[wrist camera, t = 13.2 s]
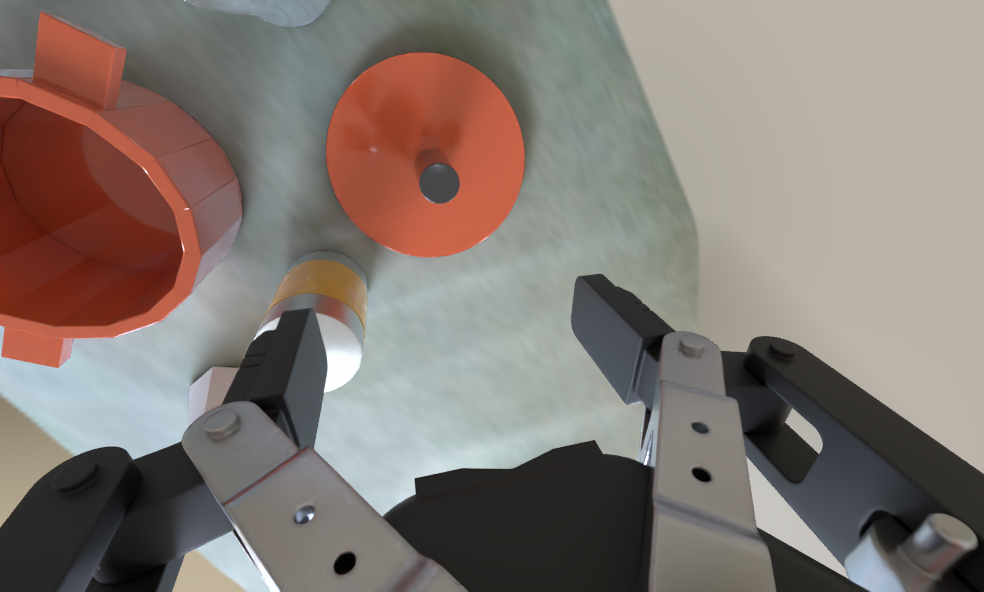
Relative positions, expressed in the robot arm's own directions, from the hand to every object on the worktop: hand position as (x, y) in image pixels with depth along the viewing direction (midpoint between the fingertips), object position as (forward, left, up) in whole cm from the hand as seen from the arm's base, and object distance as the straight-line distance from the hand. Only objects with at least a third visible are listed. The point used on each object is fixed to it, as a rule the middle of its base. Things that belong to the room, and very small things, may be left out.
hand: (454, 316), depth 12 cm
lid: (+1, +1, -19) cm, 19 cm away
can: (-2, -11, -19) cm, 22 cm away
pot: (-15, -9, -19) cm, 26 cm away
